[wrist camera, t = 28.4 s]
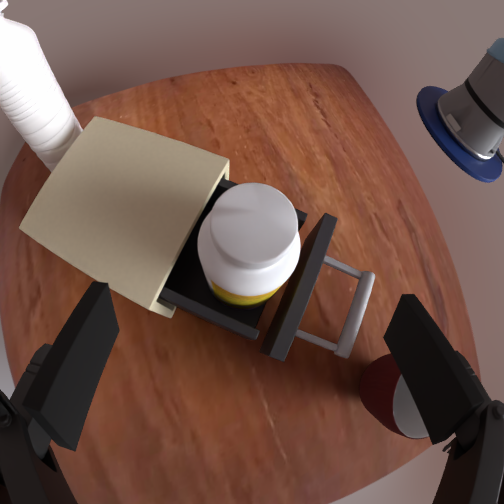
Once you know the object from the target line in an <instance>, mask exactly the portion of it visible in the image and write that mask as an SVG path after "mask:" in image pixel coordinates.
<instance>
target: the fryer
mask: <svg viewBox="0 0 504 504" xmlns="http://www.w3.org/2000/svg"><path fill="white" fill-rule="evenodd" d="M221 178H224V179H226V180H229V159H227V158H225V157H222V156H219V155H216V154H214V153H211V152H208V151H206V150H203V149H200V148H197V147H194V146H191V145H189V144H186V143H183V142H180V141H177V140H174V139H171V138H168V137H165V136H162V135H159V134H155V133H152V132H149V131H146V130H143V129H139V128H136V127H133V126H129V125H126V124H122V123H119V122H115V121H112V120H108V119H105V118H101V117H97V116H95V117H94V118H93V119H92V120H91V122H90V123H89V124H88V125H87V126H86V128H85V129H84V130H83V131H82V132H81V134H80V135H79V136H78V137H77V139H76V140H75V141H74V143H73V144H72V145H71V146H70V148H69V149H68V150H67V152H66V153H65V155H64V156H63V157H62V159H61V160H60V161H59V163H58V164H57V166H56V167H55V169H54V170H53V172H52V173H51V175H50V176H49V178H48V179H47V181H46V182H45V184H44V185H43V187H42V188H41V190H40V192H39V193H38V195H37V196H36V198H35V200H34V201H33V203H32V205H31V207H30V208H29V210H28V212H27V214H26V215H25V217H24V219H23V221H22V223H21V225H20V226H19V229H20V230H22V231H23V232H25V233H26V234H27V235H29V236H30V237H31V238H33V239H34V240H36V241H37V242H39V243H40V244H41V245H43V246H44V247H46V248H47V249H49V250H50V251H52V252H53V253H55V254H56V255H58V256H59V257H61V258H62V259H64V260H65V261H67V262H68V263H70V264H71V265H73V266H74V267H76V268H78V269H79V270H81V271H82V272H84V273H86V274H87V275H89V276H90V277H92V278H94V279H95V280H97V281H99V282H106V283H108V285H109V288H111V289H112V290H114V291H116V292H117V293H119V294H121V295H123V296H125V297H126V298H128V299H130V300H132V301H133V302H135V303H137V304H139V305H141V306H143V307H145V308H146V309H148V310H151V311H153V312H156V313H158V314H161V315H163V316H166V317H168V318H172V316H173V314H174V312H175V310H176V308H177V307H176V306H174V305H172V304H170V303H168V302H166V301H164V300H162V299H160V298H158V296H159V294H160V292H161V290H162V288H163V286H164V284H165V282H166V280H167V278H168V276H169V274H170V272H171V270H172V268H173V266H174V264H175V262H176V260H177V258H178V256H179V254H180V252H181V251H182V249H183V247H184V245H185V243H186V241H187V239H188V237H189V235H190V233H191V232H192V230H193V228H194V226H195V224H196V222H197V220H198V219H199V217H200V215H201V213H202V211H203V210H204V208H205V206H206V204H207V202H208V201H209V199H210V197H211V195H212V193H213V192H214V190H215V188H216V186H217V185H218V183H219V181H220V180H221Z"/></svg>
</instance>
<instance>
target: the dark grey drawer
mask: <svg viewBox="0 0 504 504" xmlns="http://www.w3.org/2000/svg"><path fill="white" fill-rule="evenodd" d="M236 185H239V184H236V183H234V182H231V181H229V180H226V179H224V178H221V180H220V181H219V183H218V185H217V186H216V188H215V190H214V192H213V193H212V195H211V197H210V199H209V201H208V202H207V204H206V206H205V208H204V210H203V211H202V213H201V215H200V217H199V219H198V220H197V222H196V224H195V226H194V228H193V230H192V232H191V233H190V235H189V237H188V239H187V241H186V243H185V245H184V247H183V249H182V251H181V252H180V254H179V256H178V258H177V260H176V262H175V264H174V266H173V268H172V270H171V272H170V274H169V276H168V278H167V280H166V282H165V284H164V286H163V288H162V290H161V292H160V294H159V296H158V298H160V299H162V300H164V301H166V302H168V303H170V304H172V305H174V306H176V307H178V308H180V309H182V310H184V311H186V312H188V313H190V314H193V315H195V316H197V317H199V318H201V319H203V320H205V321H207V322H210V323H212V324H214V325H216V326H218V327H220V328H223V329H225V330H227V331H229V332H232V333H234V334H236V335H238V336H241V337H243V338H245V339H248V340H256V339H257V336H258V334H259V332H260V331H259V330H258V329H255V327H256V325H257V323H258V320H259V318H260V316H261V314H262V311H263V309H264V307H265V304H266V302H267V301H266V302H265V303H264V304H262V305H261V306H259V307H256V308H254V309H249V310H236V309H232V308H229V307H227V306H225V305H223V304H222V303H221V302H219V301H218V300H217V299H216V298H215V297H214V295H213V294H212V292H211V291H210V289H209V286H208V283H207V280H206V277H205V274H204V270H203V267H202V264H201V262H200V258H199V254H198V235H199V231H200V228H201V226H202V223H203V221H204V220H205V218H206V217H207V215H208V214H209V213H210V212H211V211H212V209H213V206H214V204H215V203H216V201H217V200H218V198H219V197H220V196H221V195H222V194H223V193H224V192H225V191H227V190H228V189H230V188H232V187H234V186H236ZM294 209H295V208H294ZM295 211H296V215H297V219H298V231H299V230H300V228H301V227H302V225H303V224H304V222H305V220H306V217H307V214H306V213H304V212H302V211H300V210H298V209H295ZM337 219H338V218H336V217H334V216H331V215H329V214H327V213H325V214H324V215H323V216H322V218H321V219H320V220H319V222H318V223H317V224H316V226H315V227H314V228H313V230H312V231H311V232H310V234H309V235H308V236H307V238H306V239H305V241H304V244H303V246H302V249H301V251H300V255H299V260H298V263H297V265H296V267H295V269H294V271H293V273H292V274H291V277H290V279H289V282H288V284H287V287H286V289H285V292H284V294H283V296H282V299H281V301H280V304H279V306H278V308H277V311H276V313H275V316H274V318H273V320H272V323H271V325H270V327H269V330H268V332H267V334H266V337H265V339H264V341H263V344H262V346H261V348H260V350H259V352H260V353H262V354H265V355H267V356H270V357H272V358H275V359H277V360H280V361H283V362H284V360H285V358H286V356H287V353H288V351H289V349H290V346H291V344H292V342H293V339H294V337H295V336H296V337H298V338H301V339H303V340H306V341H308V342H311V343H314V344H316V345H319V346H321V347H324V348H326V349H329V350H332V351H334V354H335V355H337V356H340V357H343V358H349V356H350V353H351V350H352V348H353V345H354V342H355V339H356V336H357V333H358V331H359V328H360V325H361V322H362V319H363V316H364V312H365V309H366V306H367V303H368V300H369V296H370V293H371V290H372V286H373V283H374V279H375V275H374V274H373V273H372V272H369V271H362V272H361V271H359V270H356V269H354V268H352V267H350V266H348V265H346V264H343V263H341V262H339V261H337V260H335V259H333V258H330V257H328V256H326V252H327V249H328V246H329V243H330V240H331V238H332V235H333V232H334V229H335V225H336V222H337ZM323 263H324V264H326V265H328V266H331V267H333V268H335V269H337V270H339V271H342V272H344V273H346V274H348V275H350V276H353V277H355V278H357V279H359V282H358V285H357V288H356V292H355V295H354V298H353V301H352V304H351V307H350V310H349V313H348V316H347V319H346V322H345V324H344V327H343V330H342V333H341V335H340V338H339V341H338V344H334V343H332V342H329V341H327V340H324V339H322V338H319V337H317V336H314V335H311V334H309V333H307V332H304V331H302V330H299V329H298V327H299V324H300V322H301V319H302V317H303V314H304V312H305V309H306V307H307V304H308V301H309V299H310V296H311V294H312V291H313V288H314V286H315V283H316V280H317V277H318V275H319V272H320V269H321V266H322V264H323Z"/></svg>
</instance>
